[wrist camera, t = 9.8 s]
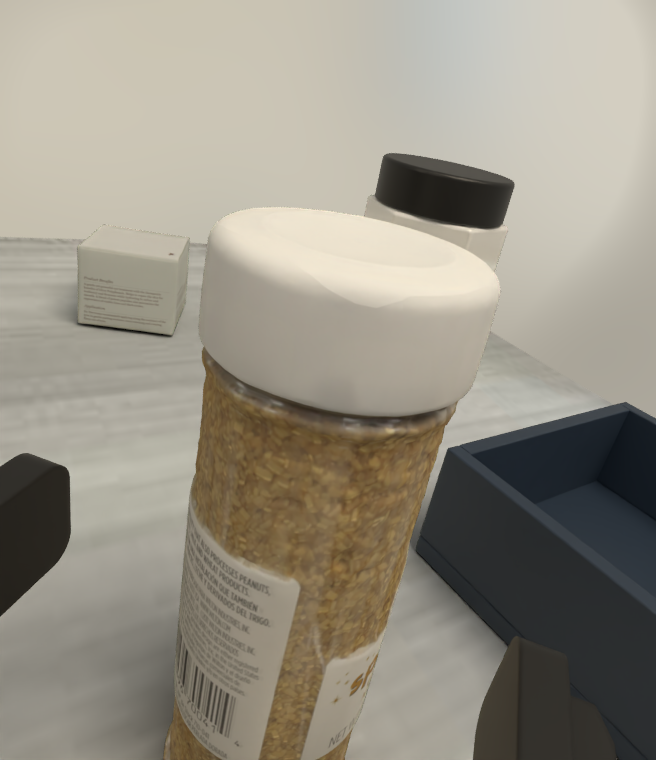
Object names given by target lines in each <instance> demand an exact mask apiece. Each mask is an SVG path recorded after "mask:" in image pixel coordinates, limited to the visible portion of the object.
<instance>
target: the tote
mask: <svg viewBox="0 0 656 760" xmlns="http://www.w3.org/2000/svg"><path fill="white" fill-rule="evenodd" d="M420 534H421V535H420V536H419V539H418V542H417V546H416V551H417V552H418V553H419V554H420V555H421V556H422V557H423V558H424V559H425V560H426V561H427V562H428V563H429V564H430V565H431V566H432V567H433V568H434V569H435V570H436V571H437V573H438V574H439V575H440V576H441V577H442V578H443V579H444V580H445V581H446V582H447V583H448V584H449V585H450V586H451V587H452V588H453V589H454V590H455V591H456V592H457V593H458V594H459V595H460V596H461V597H462V598H463V599H464V600H465V601H466V602H467V603H468V604H469V605H470V606H471V607H472V608H473V609H474V610H475V611H476V612H477V614H478V615H479V616H480V617H481V618H482V619H483V620H484V621H485V622H486V623H487V624H488V625H489V626H490V627H491V628H492V629H493V630H494V631H495V632H496V633H497V634H498V635H499V636H500V637H501V638H502V639H503V640H504V641H505V642H506V643H507V644H508V645H509V644H510V643H511V641H512V639H513V638H514V637H515V636H518V637H521V638H524V639H526V640H529V641H532V642H534V643H537V644H540V645H542V646H545V647H548V648H551V649H553V650H556V651H559V652H561V653H564V654H565V655H566V657H567V659H568V665H569V679H570V693H571V696H574V697H576V698H579V699H581V700H584V701H587V702H589V703H592V704H594V705H596V707H597V709H598V711H599V713H600V715H601V717H602V719H603V721H604V723H605V725H606V727H607V730H608V732H609V734H610V736H611V738H612V740H613V742H614V744H615V751H616V756H617V757H618V758H619V759H620V760H656V418H654V417H652V416H650V415H648V414H647V413H645V412H643V411H641V410H639V409H637V408H636V407H634V406H632V405H630V404H628V403H627V402H624V403H620V404H616V405H612V406H608V407H604V408H600V409H596V410H593V411H589V412H585V413H581V414H577V415H573V416H570V417H566V418H562V419H558V420H554V421H550V422H547V423H543V424H539V425H535V426H531V427H527V428H524V429H520V430H516V431H512V432H508V433H504V434H500V435H497V436H493V437H489V438H485V439H481V440H477V441H474V442H470V443H466V444H462V445H460V446H455V447H451V448H448V449H447V452H446V455H445V458H444V462H443V465H442V468H441V471H440V474H439V477H438V480H437V483H436V486H435V489H434V492H433V495H432V498H431V502H430V505H429V508H428V511H427V514H426V517H425V520H424V523H423V526H422V529H421V532H420Z"/></svg>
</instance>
